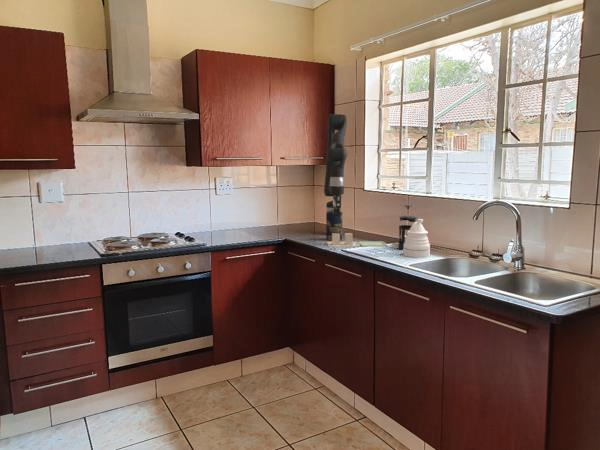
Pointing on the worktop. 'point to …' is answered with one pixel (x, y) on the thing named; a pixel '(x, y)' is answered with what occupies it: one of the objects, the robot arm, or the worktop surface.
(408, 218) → the french press
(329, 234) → the canister
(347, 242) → the beige block
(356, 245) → the bin
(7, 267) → the worktop surface
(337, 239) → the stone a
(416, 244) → the honey pot
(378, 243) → the bin
